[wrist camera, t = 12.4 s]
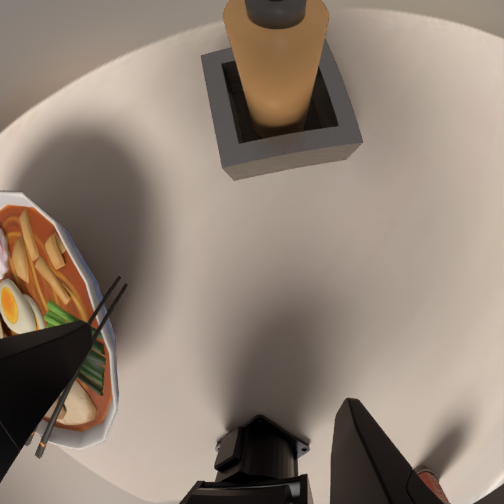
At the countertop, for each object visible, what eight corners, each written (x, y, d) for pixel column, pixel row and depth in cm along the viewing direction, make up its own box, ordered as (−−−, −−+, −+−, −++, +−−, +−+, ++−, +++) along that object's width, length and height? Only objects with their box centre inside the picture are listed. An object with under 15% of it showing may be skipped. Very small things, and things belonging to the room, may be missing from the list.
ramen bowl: (57, 140, 21) (-1, 121, 13) (224, 309, 21) (193, 354, 13) (-13, 308, 24) (-55, 321, 16) (96, 442, 24) (63, 481, 16)
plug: (315, 116, 19) (361, -32, 5) (281, 153, 20) (285, 15, 5) (275, 86, 19) (265, -68, 5) (240, 120, 20) (183, -24, 5)
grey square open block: (316, 65, 19) (323, 34, 14) (346, 159, 19) (363, 142, 15) (214, 84, 20) (200, 55, 15) (234, 180, 20) (222, 168, 16)
